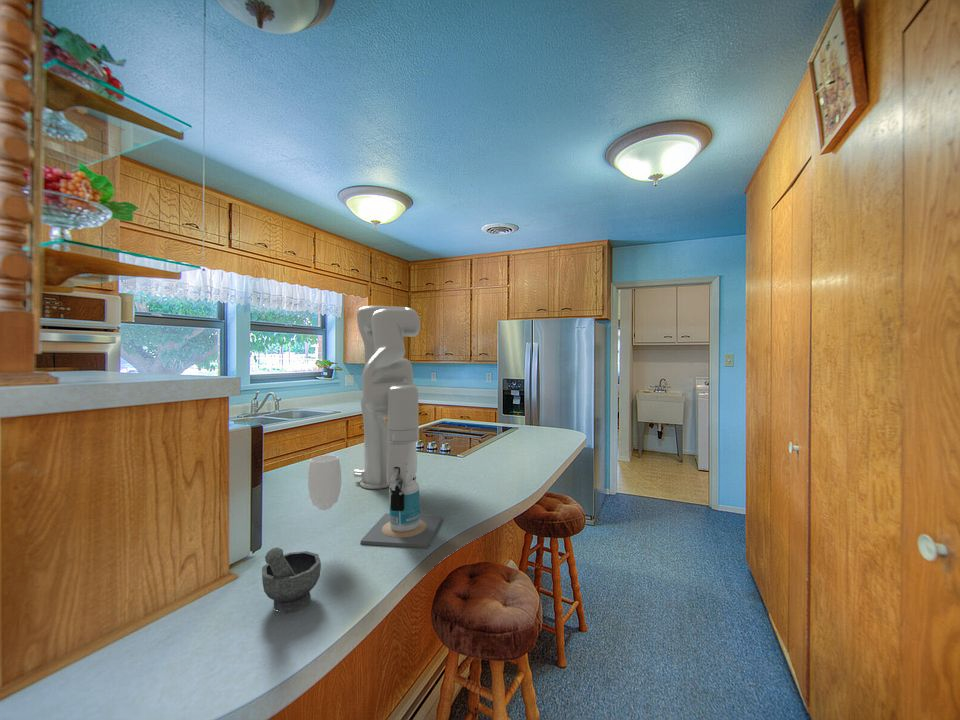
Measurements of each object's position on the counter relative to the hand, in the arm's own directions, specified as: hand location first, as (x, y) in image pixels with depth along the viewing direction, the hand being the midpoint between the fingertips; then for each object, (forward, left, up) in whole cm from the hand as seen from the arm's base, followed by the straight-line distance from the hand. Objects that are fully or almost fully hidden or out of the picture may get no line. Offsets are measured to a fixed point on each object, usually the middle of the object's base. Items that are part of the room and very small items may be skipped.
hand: (404, 502), depth 102 cm
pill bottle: (0, 0, -6) cm, 6 cm away
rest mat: (0, 0, -7) cm, 7 cm away
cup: (-15, -11, -7) cm, 20 cm away
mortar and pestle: (-11, -31, -7) cm, 34 cm away
